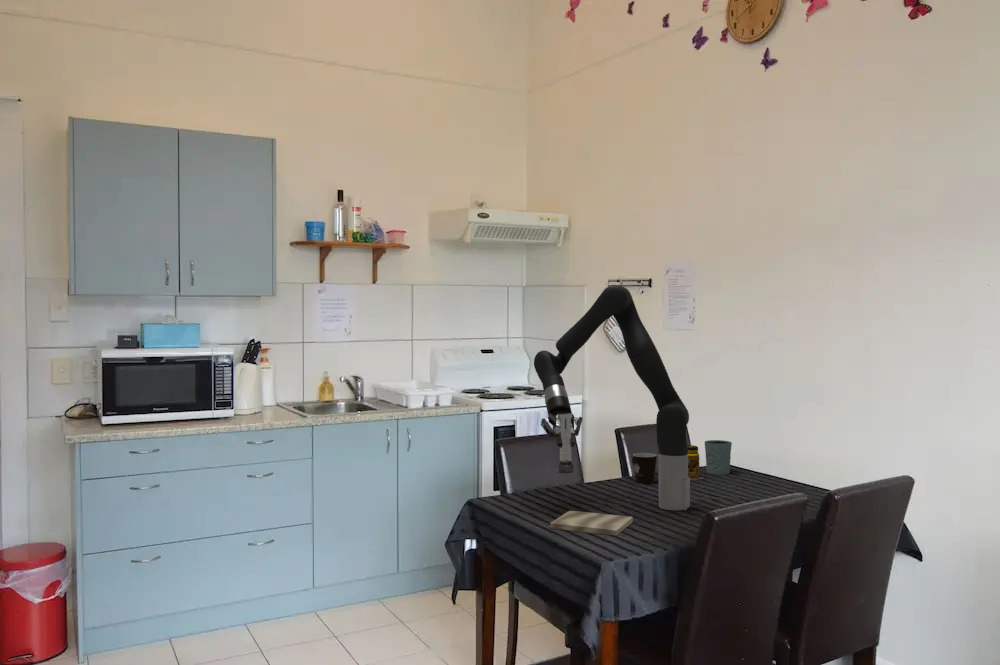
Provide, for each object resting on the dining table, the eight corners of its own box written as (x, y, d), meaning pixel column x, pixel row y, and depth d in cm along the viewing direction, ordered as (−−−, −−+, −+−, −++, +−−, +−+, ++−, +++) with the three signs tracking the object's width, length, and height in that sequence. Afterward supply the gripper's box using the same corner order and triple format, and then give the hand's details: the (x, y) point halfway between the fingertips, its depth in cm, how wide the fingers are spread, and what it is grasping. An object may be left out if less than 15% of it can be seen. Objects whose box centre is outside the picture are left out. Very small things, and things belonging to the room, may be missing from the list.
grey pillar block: (571, 469, 251) (570, 412, 250) (575, 472, 246) (574, 414, 245) (556, 470, 250) (555, 413, 249) (560, 473, 245) (558, 415, 244)
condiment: (688, 480, 294) (688, 448, 294) (675, 476, 302) (675, 445, 302) (705, 478, 297) (704, 446, 297) (691, 474, 305) (691, 443, 305)
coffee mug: (659, 484, 288) (658, 457, 288) (635, 484, 288) (634, 457, 288) (653, 477, 300) (653, 451, 300) (630, 478, 300) (630, 451, 300)
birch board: (632, 521, 238) (632, 516, 237) (616, 535, 223) (616, 530, 223) (569, 515, 246) (569, 510, 246) (550, 528, 232) (550, 523, 232)
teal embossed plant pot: (705, 475, 304) (705, 443, 304) (703, 469, 314) (703, 439, 314) (733, 475, 302) (733, 444, 302) (730, 470, 312) (730, 439, 312)
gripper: (537, 395, 253) (546, 439, 242) (580, 393, 256) (591, 437, 244) (534, 410, 259) (543, 454, 247) (576, 408, 261) (587, 451, 249)
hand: (567, 445), depth 246 cm, fingers closed on grey pillar block, 3 cm apart
